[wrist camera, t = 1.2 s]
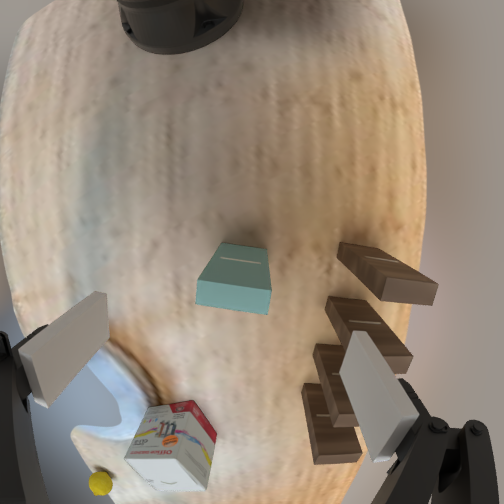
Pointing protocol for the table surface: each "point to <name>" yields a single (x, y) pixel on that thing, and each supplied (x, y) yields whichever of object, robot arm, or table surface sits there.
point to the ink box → (173, 448)
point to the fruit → (100, 483)
